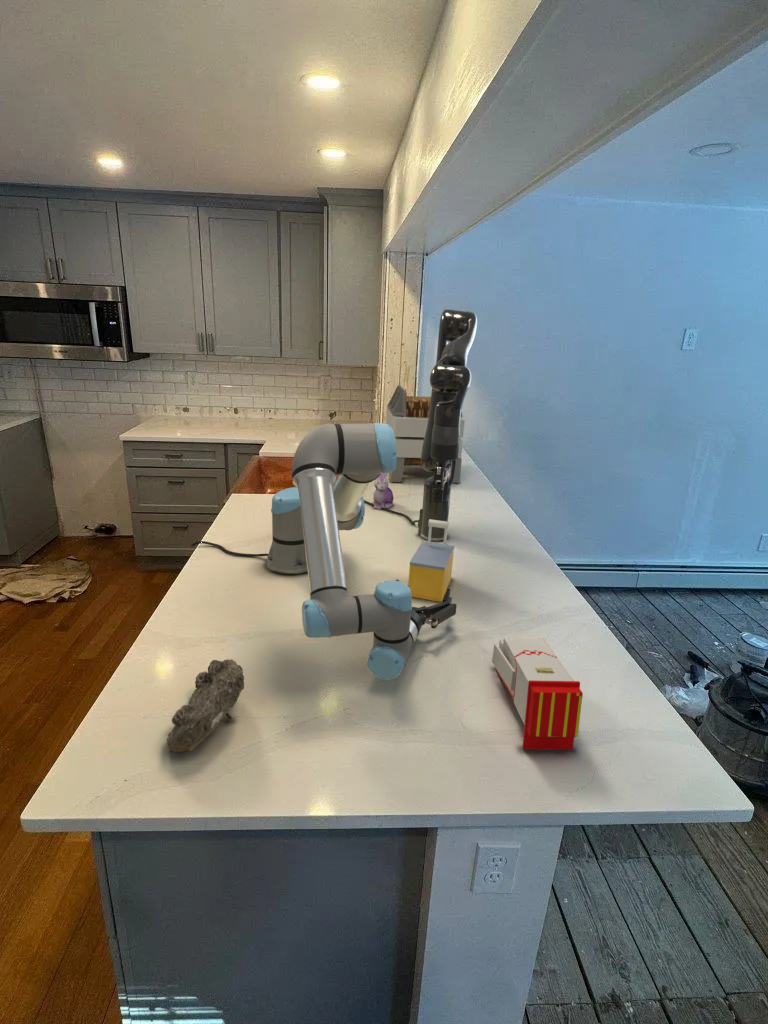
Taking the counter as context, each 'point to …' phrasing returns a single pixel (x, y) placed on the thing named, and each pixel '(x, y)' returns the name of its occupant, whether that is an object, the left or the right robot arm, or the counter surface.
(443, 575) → the chest
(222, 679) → the fossil
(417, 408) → the grey slatted crate
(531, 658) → the toy
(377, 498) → the figurine
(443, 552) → the lid
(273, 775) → the counter surface
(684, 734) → the counter surface
